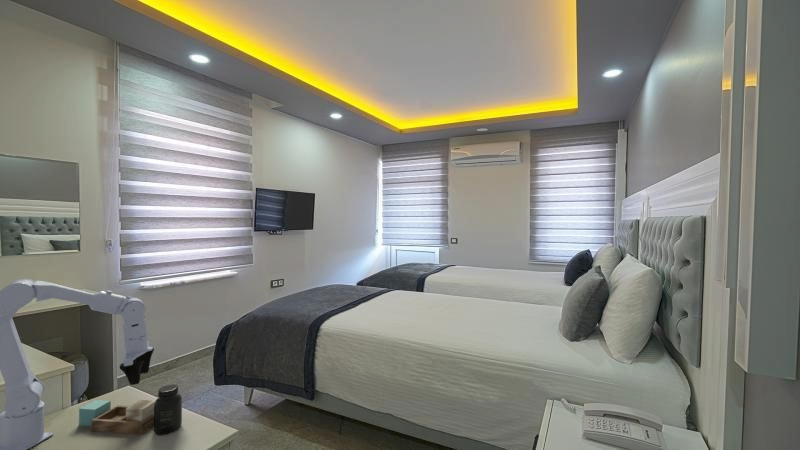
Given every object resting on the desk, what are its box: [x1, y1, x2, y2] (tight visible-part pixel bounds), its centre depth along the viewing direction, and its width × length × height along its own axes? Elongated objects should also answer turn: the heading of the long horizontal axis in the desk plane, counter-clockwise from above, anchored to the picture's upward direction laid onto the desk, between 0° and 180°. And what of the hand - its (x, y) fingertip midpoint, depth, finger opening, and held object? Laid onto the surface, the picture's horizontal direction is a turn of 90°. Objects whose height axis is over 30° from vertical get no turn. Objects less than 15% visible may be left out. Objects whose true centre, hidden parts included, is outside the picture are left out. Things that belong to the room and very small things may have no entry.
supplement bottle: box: [153, 383, 183, 436], centre depth 99 cm, size 7×7×12 cm
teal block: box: [78, 399, 112, 427], centre depth 103 cm, size 5×5×5 cm
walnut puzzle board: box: [90, 399, 156, 435], centre depth 101 cm, size 16×8×6 cm, turn 86°
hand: (139, 378), depth 108 cm, fingers open, 7 cm apart
